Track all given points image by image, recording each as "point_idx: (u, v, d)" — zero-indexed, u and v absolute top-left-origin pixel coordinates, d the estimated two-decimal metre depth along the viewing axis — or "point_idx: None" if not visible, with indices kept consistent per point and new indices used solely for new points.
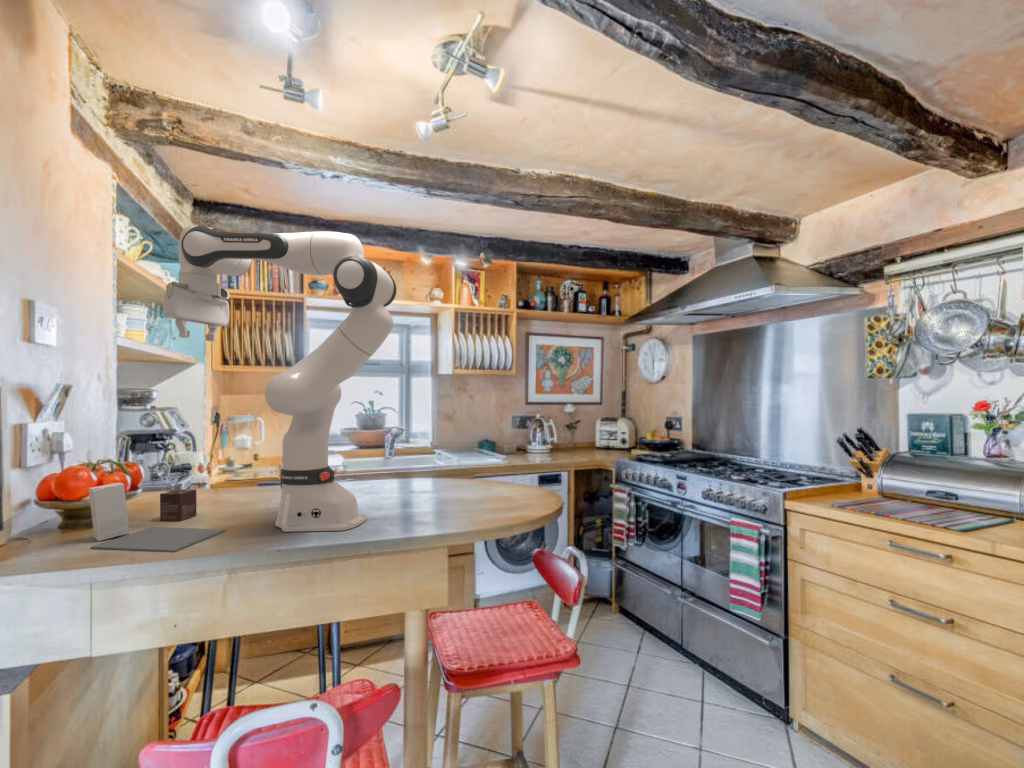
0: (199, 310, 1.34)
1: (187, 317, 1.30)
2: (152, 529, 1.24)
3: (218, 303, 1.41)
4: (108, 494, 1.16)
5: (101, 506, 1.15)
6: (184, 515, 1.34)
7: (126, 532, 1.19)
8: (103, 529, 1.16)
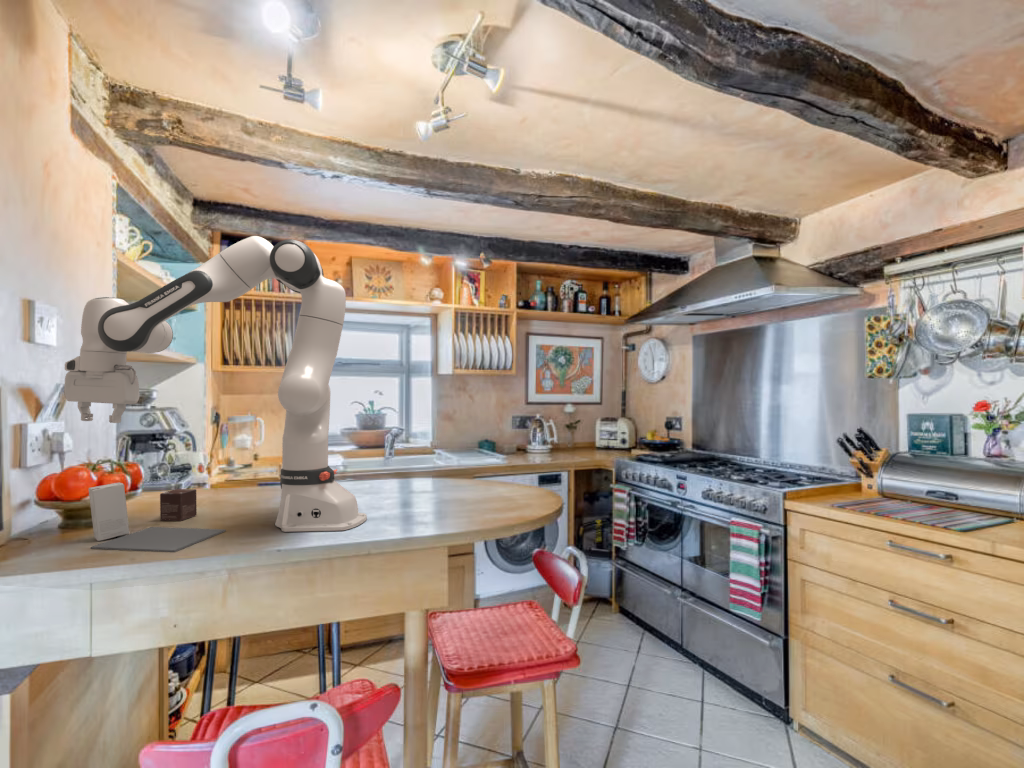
0: None
1: None
2: (152, 529, 1.24)
3: None
4: (108, 494, 1.16)
5: (101, 506, 1.15)
6: (184, 515, 1.34)
7: (126, 532, 1.19)
8: (103, 529, 1.16)
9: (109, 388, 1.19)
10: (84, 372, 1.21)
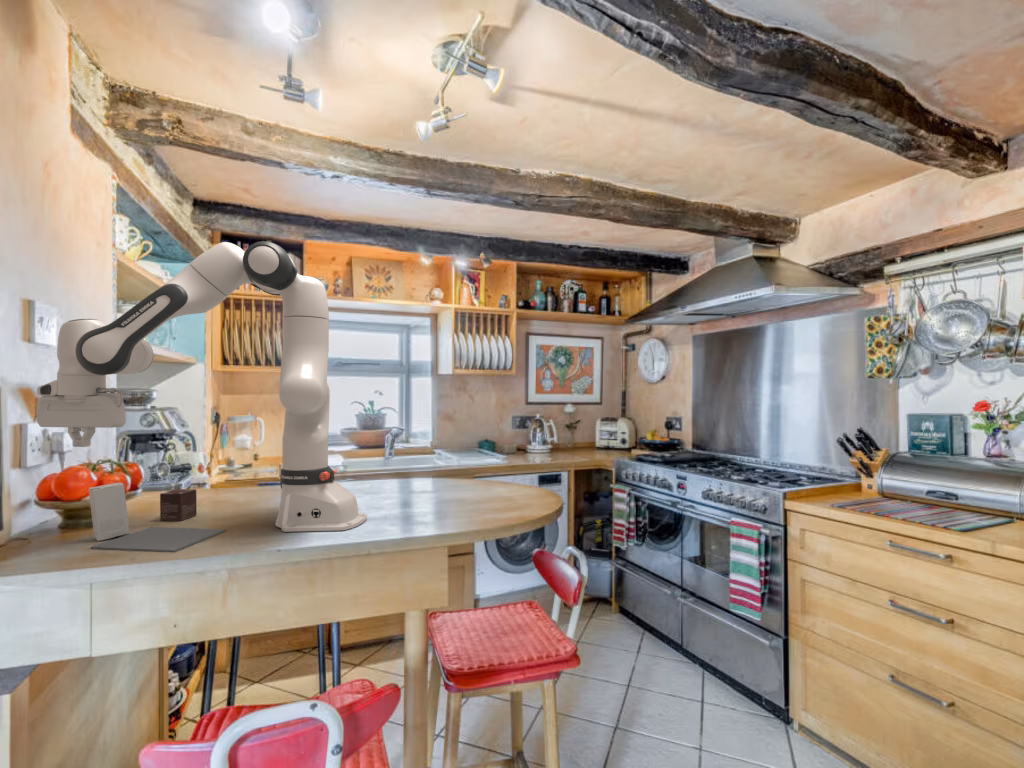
0: None
1: None
2: (152, 529, 1.24)
3: None
4: (108, 494, 1.16)
5: (101, 506, 1.15)
6: (184, 515, 1.34)
7: (126, 532, 1.19)
8: (103, 529, 1.16)
9: (93, 412, 1.17)
10: (61, 396, 1.18)
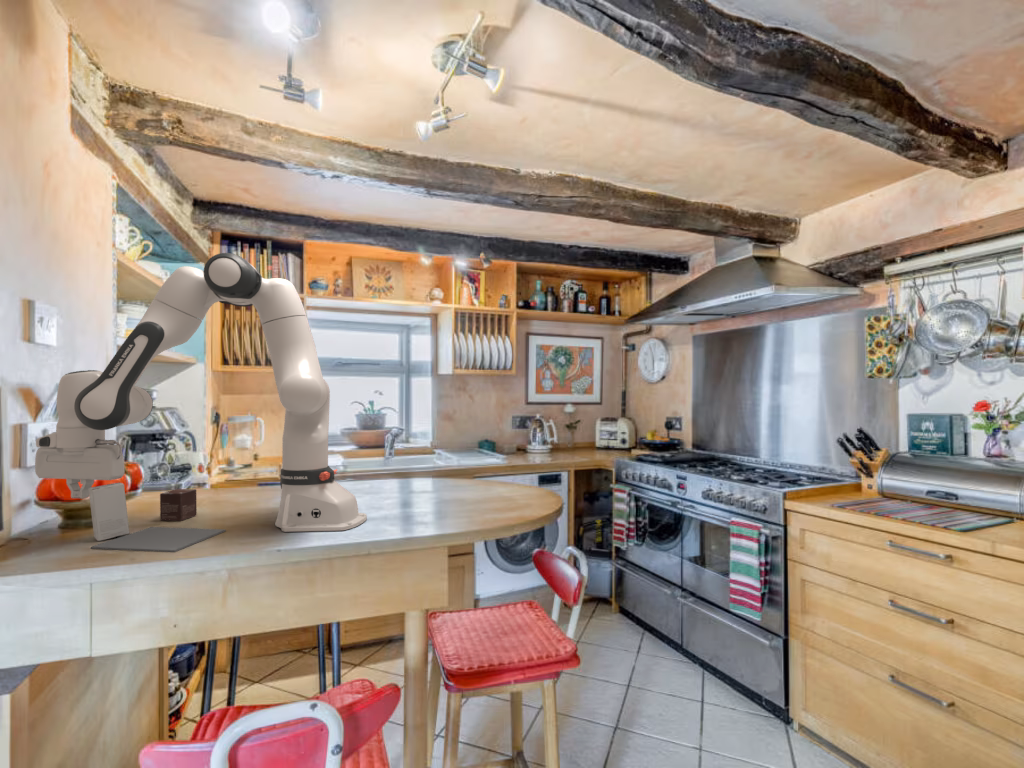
0: None
1: None
2: (152, 529, 1.24)
3: None
4: (108, 494, 1.16)
5: (101, 506, 1.15)
6: (184, 515, 1.34)
7: (126, 532, 1.19)
8: (103, 529, 1.16)
9: (92, 464, 1.17)
10: (60, 448, 1.18)
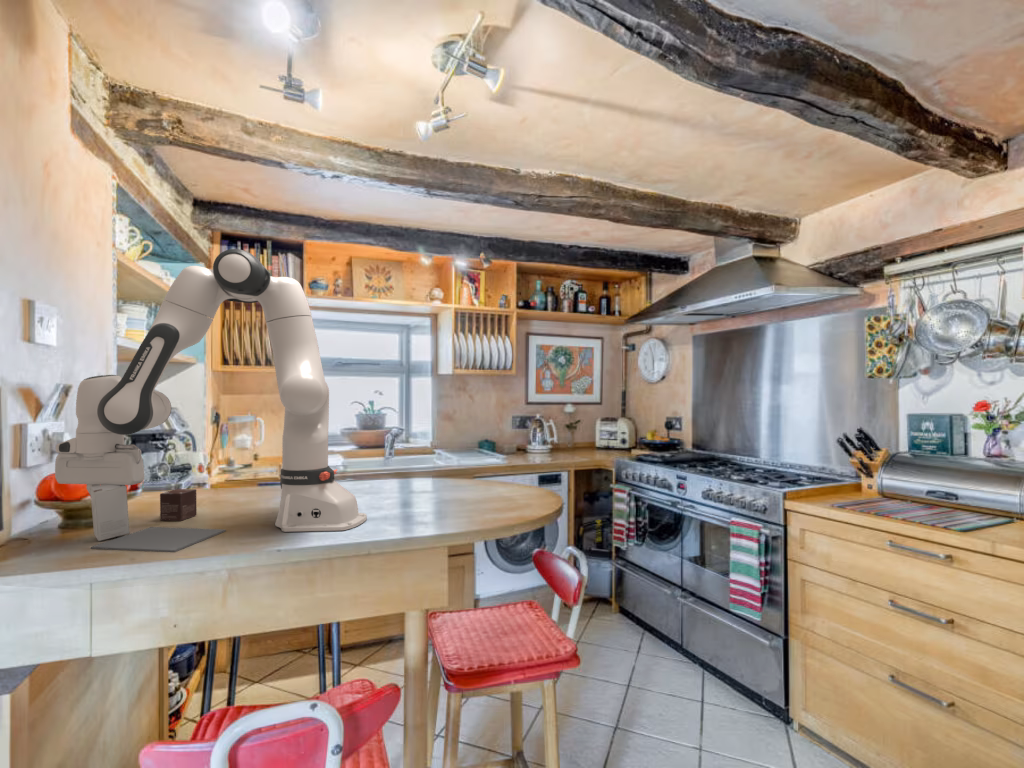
0: None
1: None
2: (152, 529, 1.24)
3: None
4: (110, 496, 1.15)
5: (102, 508, 1.14)
6: (184, 515, 1.34)
7: (126, 533, 1.19)
8: (103, 530, 1.15)
9: (112, 469, 1.17)
10: (80, 453, 1.17)
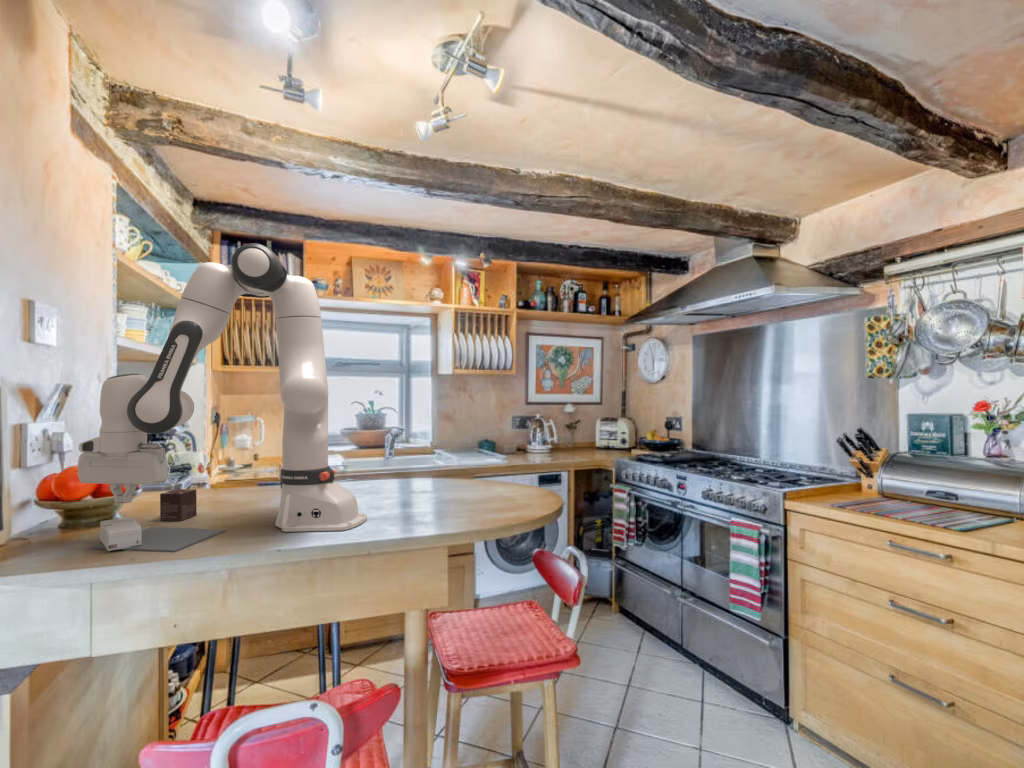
0: None
1: None
2: (152, 529, 1.24)
3: None
4: None
5: None
6: (184, 515, 1.34)
7: None
8: None
9: (136, 469, 1.16)
10: (103, 453, 1.17)
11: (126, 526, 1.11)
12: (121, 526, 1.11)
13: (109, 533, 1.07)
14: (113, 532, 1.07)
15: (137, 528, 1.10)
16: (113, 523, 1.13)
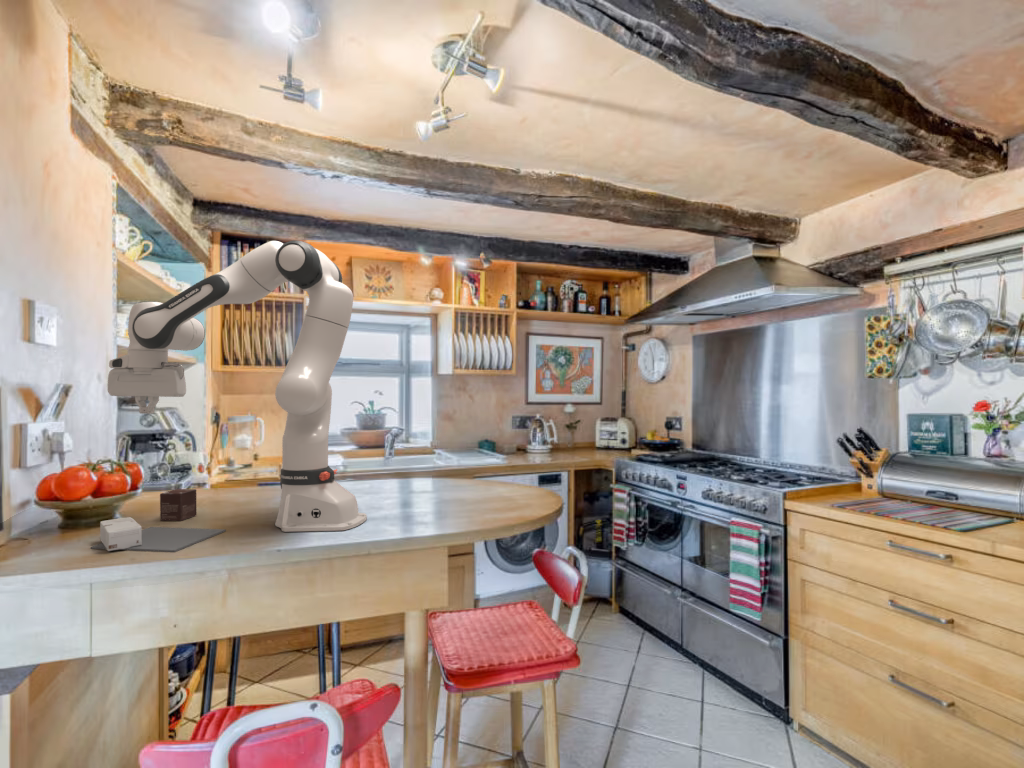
0: None
1: None
2: (152, 529, 1.24)
3: None
4: None
5: None
6: (184, 515, 1.34)
7: None
8: None
9: (159, 383, 1.34)
10: (130, 369, 1.35)
11: (126, 526, 1.11)
12: (121, 526, 1.11)
13: (109, 533, 1.07)
14: (113, 532, 1.07)
15: (137, 528, 1.10)
16: (113, 523, 1.13)
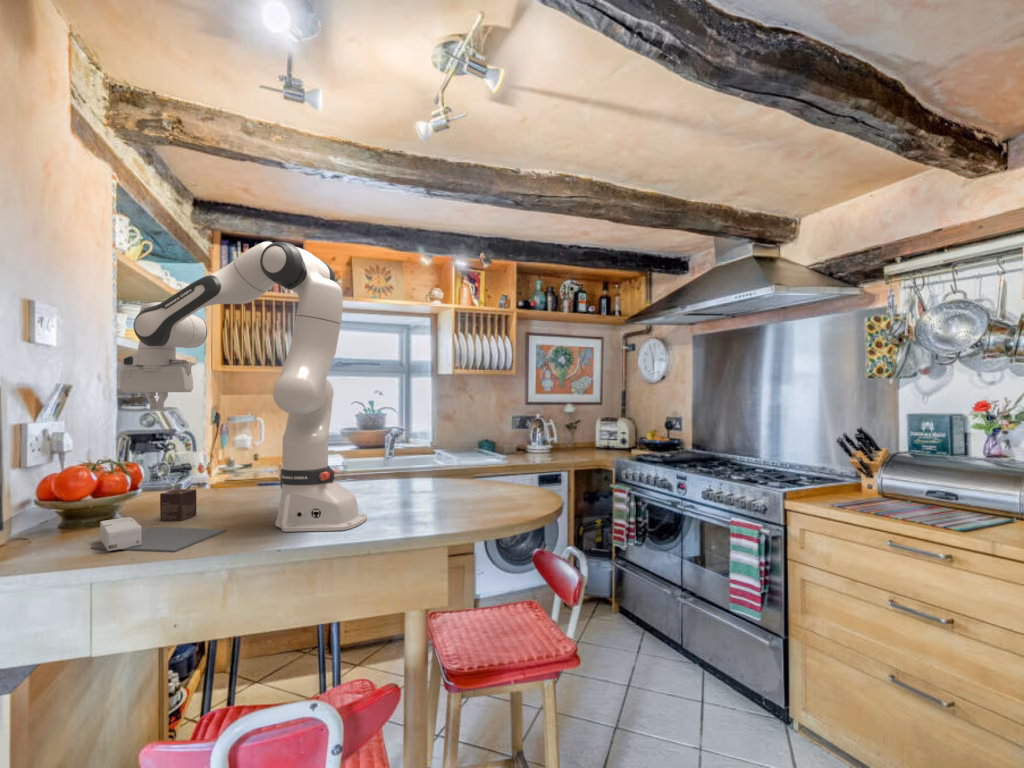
0: None
1: None
2: (152, 529, 1.24)
3: None
4: None
5: None
6: (184, 515, 1.34)
7: None
8: None
9: (167, 379, 1.41)
10: (140, 366, 1.42)
11: (126, 526, 1.11)
12: (121, 526, 1.11)
13: (109, 533, 1.07)
14: (113, 532, 1.07)
15: (137, 528, 1.10)
16: (113, 523, 1.13)
